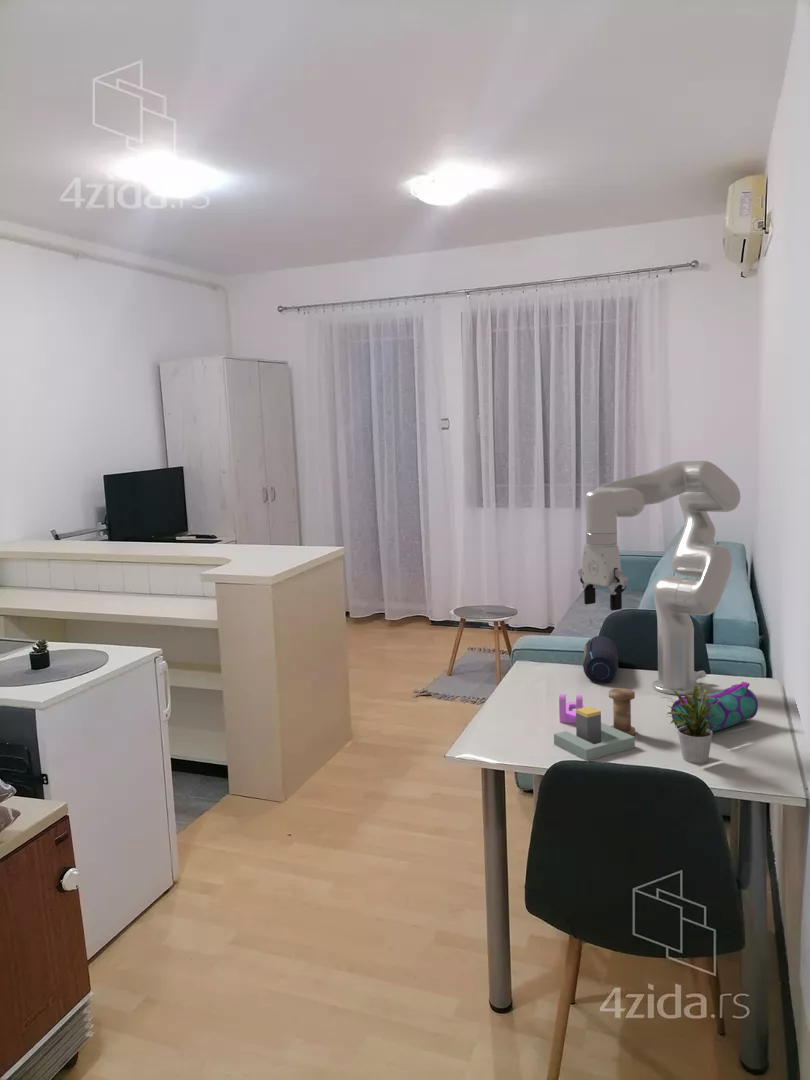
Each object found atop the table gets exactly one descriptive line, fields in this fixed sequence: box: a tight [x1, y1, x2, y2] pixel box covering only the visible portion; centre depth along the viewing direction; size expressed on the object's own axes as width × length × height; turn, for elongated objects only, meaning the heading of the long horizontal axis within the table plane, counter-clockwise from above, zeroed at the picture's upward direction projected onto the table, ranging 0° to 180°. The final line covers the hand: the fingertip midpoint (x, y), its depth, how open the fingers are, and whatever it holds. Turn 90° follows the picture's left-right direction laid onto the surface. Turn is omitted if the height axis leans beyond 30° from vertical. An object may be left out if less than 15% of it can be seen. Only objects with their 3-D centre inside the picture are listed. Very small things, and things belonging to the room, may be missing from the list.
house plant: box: [662, 681, 724, 765], centre depth 167 cm, size 14×14×16 cm
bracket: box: [558, 693, 585, 724], centre depth 197 cm, size 13×6×7 cm, turn 165°
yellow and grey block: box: [575, 705, 602, 744], centre depth 177 cm, size 4×4×8 cm
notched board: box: [553, 722, 636, 761], centre depth 176 cm, size 14×12×2 cm
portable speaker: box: [582, 635, 619, 684], centre depth 231 cm, size 25×10×10 cm, turn 166°
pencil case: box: [670, 681, 759, 732], centre depth 184 cm, size 21×9×10 cm, turn 118°
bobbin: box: [608, 688, 636, 737], centre depth 183 cm, size 6×6×10 cm
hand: (602, 606), depth 193 cm, fingers open, 9 cm apart
